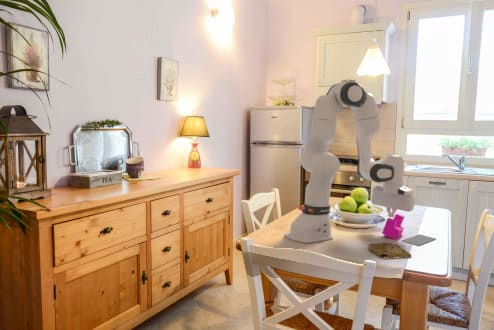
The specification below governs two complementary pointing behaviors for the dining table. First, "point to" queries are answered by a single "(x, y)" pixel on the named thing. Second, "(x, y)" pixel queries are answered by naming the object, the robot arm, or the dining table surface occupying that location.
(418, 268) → the dining table surface
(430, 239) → the mat
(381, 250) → the pastry
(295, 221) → the robot arm
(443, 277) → the dining table surface
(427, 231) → the dining table surface
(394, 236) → the toy block
